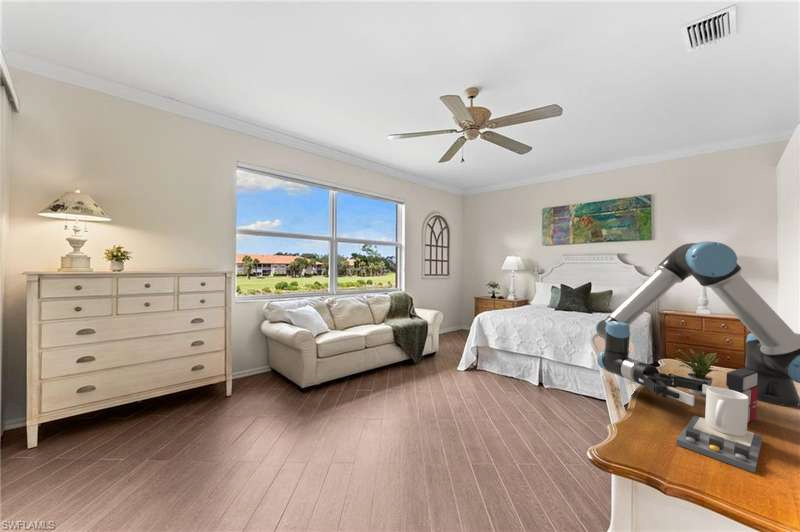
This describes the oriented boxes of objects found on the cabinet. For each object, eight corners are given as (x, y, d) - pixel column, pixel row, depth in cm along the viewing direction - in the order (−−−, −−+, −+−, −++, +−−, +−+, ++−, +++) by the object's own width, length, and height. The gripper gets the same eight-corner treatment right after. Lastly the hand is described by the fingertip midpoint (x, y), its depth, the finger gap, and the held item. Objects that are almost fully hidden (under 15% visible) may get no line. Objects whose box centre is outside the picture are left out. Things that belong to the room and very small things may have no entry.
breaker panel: (693, 420, 99) (694, 408, 99) (761, 441, 88) (762, 428, 88) (676, 444, 85) (677, 431, 85) (755, 473, 74) (755, 458, 74)
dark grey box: (743, 427, 95) (746, 377, 95) (723, 420, 99) (726, 372, 99) (757, 419, 100) (760, 372, 100) (738, 413, 104) (741, 367, 104)
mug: (738, 444, 83) (740, 404, 83) (696, 429, 90) (697, 392, 90) (750, 432, 90) (752, 395, 89) (709, 419, 96) (711, 384, 96)
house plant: (690, 383, 130) (692, 342, 130) (734, 397, 117) (737, 352, 116) (665, 386, 125) (667, 344, 125) (709, 402, 112) (711, 355, 112)
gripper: (667, 381, 116) (742, 408, 96) (610, 385, 110) (676, 416, 90) (668, 360, 116) (743, 383, 95) (611, 364, 110) (678, 389, 89)
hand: (711, 399), depth 92 cm, fingers open, 13 cm apart
